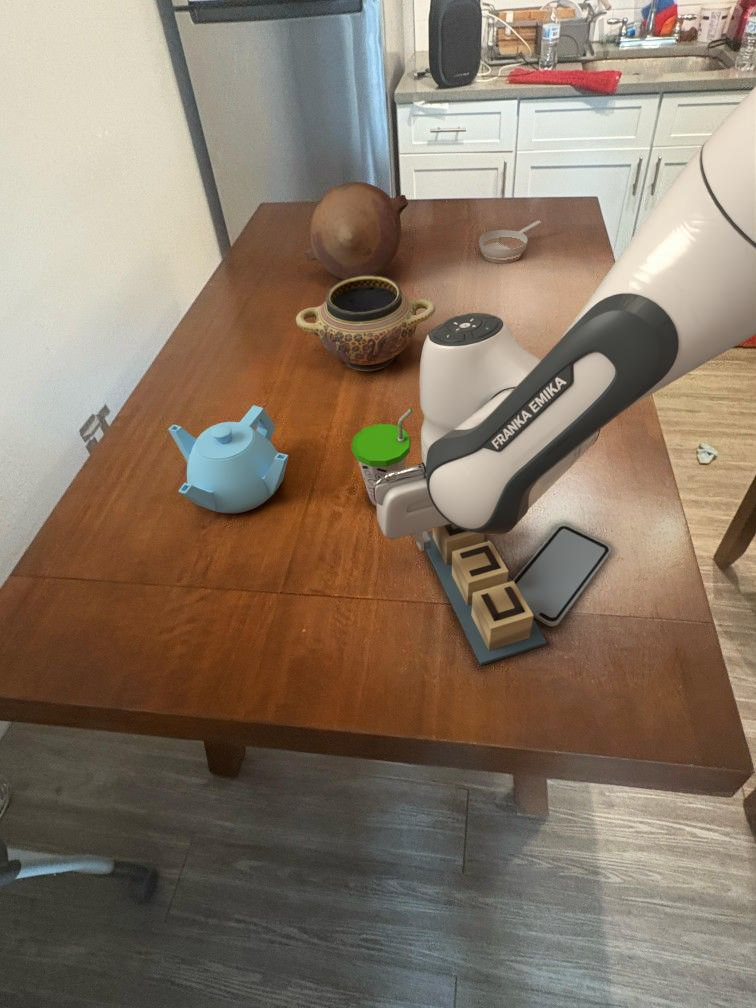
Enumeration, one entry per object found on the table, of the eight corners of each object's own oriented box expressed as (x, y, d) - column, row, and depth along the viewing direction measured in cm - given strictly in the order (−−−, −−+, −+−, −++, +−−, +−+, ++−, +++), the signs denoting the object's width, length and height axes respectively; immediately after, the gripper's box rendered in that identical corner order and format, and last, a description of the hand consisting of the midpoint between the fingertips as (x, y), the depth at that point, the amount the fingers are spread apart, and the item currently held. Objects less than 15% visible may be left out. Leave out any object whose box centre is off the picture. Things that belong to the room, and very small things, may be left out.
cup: (349, 508, 85) (336, 425, 75) (372, 473, 90) (363, 390, 80) (400, 523, 83) (394, 438, 72) (421, 485, 88) (418, 401, 77)
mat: (546, 644, 68) (546, 641, 68) (480, 665, 67) (480, 663, 67) (475, 522, 82) (476, 519, 81) (420, 538, 81) (420, 535, 80)
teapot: (301, 506, 87) (288, 448, 79) (197, 536, 84) (172, 480, 76) (278, 443, 97) (264, 387, 89) (184, 468, 94) (162, 413, 87)
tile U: (505, 594, 73) (508, 570, 69) (467, 605, 72) (468, 582, 69) (488, 563, 76) (490, 539, 73) (451, 574, 75) (452, 550, 72)
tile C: (529, 638, 68) (534, 614, 65) (488, 650, 68) (491, 627, 64) (510, 603, 72) (513, 579, 68) (471, 615, 71) (472, 591, 68)
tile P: (482, 554, 77) (484, 530, 74) (446, 565, 76) (446, 540, 73) (467, 527, 81) (468, 502, 77) (432, 537, 80) (432, 512, 77)
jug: (382, 303, 127) (409, 264, 150) (399, 202, 115) (427, 178, 138) (290, 279, 129) (332, 245, 152) (298, 178, 117) (342, 157, 140)
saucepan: (468, 256, 140) (469, 239, 137) (520, 231, 147) (522, 215, 144) (504, 269, 133) (505, 252, 131) (556, 243, 141) (558, 226, 138)
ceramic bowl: (301, 392, 111) (283, 331, 98) (311, 322, 120) (296, 258, 107) (435, 390, 109) (434, 327, 96) (435, 319, 117) (435, 253, 104)
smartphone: (613, 547, 77) (555, 626, 69) (612, 552, 77) (554, 631, 70) (561, 522, 80) (499, 594, 73) (560, 527, 81) (499, 599, 73)
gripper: (380, 496, 63) (388, 577, 73) (557, 449, 67) (542, 532, 76) (363, 459, 68) (373, 540, 78) (531, 417, 71) (520, 499, 81)
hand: (458, 536), depth 77 cm, fingers open, 8 cm apart
